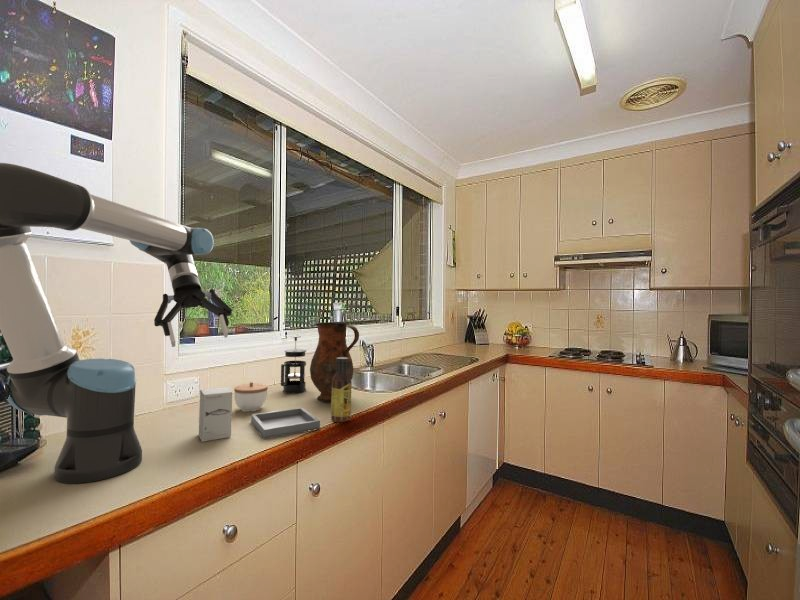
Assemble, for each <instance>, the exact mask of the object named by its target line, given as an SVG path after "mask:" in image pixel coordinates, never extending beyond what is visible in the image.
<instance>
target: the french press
mask: <svg viewBox="0 0 800 600" xmlns="http://www.w3.org/2000/svg"><path fill="white" fill-rule="evenodd" d="M301 337H302V336H300V335H292V336H290V338H293V339H294V348H290V349H285V350H284V352H285V357H288V358H294V360H286V361H284V362H283V363H282V364H281V365H280V387H283V389H282V392H283V393H285V392H286V394H301V393H304V391H305V392H306V391H307V389H306V384H307V383H306V382H307V381H305V376H306V374H305V372H306V371H305V367H306V366H307V361H306V360H305V361H304V360H297V358H300V357H301V358H302V357H305V356H306V352H307V349H300V348H297V341H298V339H299V338H301ZM291 368H299V373H296V370H294V372H293V373H291ZM291 379H293V380H291ZM294 379H295V380H294ZM296 379H299V380H296ZM300 392H301V393H300Z"/></svg>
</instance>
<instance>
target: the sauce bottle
mask: <svg viewBox="0 0 800 600" xmlns="http://www.w3.org/2000/svg"><path fill="white" fill-rule="evenodd" d="M336 363H337V369H336V371H337V372H336V374H335V375H334V377H333V380H332V398H331V403H330V415H331V416H330V417H331V421H332V422H334V423H345V422H348V421H350V419H351V415H352V388H353V387H352V380H351V379H350V376H349V373H348V363H349V358H347V357H339V358H336Z"/></svg>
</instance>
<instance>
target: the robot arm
mask: <svg viewBox="0 0 800 600" xmlns="http://www.w3.org/2000/svg"><path fill="white" fill-rule="evenodd" d="M31 227H41V228H54V229H61V230H64V231H69V232H70V231H71V232H72V231H73V232H74V231H77V230H79V229H81V230H85V231H90V232H94V233H99V234H103V235H106V236H111V237H115V238H119V239H123V240H128V241H129V243H130V244H131V245H132V246H134V247H136V248H137V249H139V250H140V251H141V252H144V253H145V254H148V255H149V256H151V257H153V258H155V259H157V260H158V261H160V262H162V263H164V264H165V265H166V267H167V270H168V274H169V279H170V283H171V287H172V288H171V289H172V291H173V295H169V294H167V293H163V294H162V302H161V304H160V307H159V309H158V310H157V313H156V315H155V317H154V320H153V321H154V323H153V325H154V326H155V327H162V329H163V334H164V336H165V337H169V340H170V344H171V347H176V338H175V335H174V330H173V325H172V321H173V319H174V318H176V316H177V315H178V313H179V312H181V310H183V308H185V309H190V308H198V307H201V308H203V309H206V310H207V311H210V312H211V313H212V314H214V315H216V316H218V317H219V319H218V321H219V324H220V326H221V330H222V331H221V332H222V333H223V337H224V339H225V338H228V336H229V330H228V327H229V323H230V322H229V318H228V317H231V316H232V312H233V310H232V308H231V307H230V305H228V304H227V303H226V302H225V301H224V300H222V298H221V297H219V296H218V295H217V294H216V291H215V289H213V288H210V289H209V290H208V291H203V289H202V285H201V282H200V279H199V274H198V272H197V269H196V265H195V262H194V261H195V260H194V257H193V256H195V255H196V256H200V255H208V254H209V253H211V251H213V248H214V243H215V242H214V237H213V234H212V233H211V231H210V230H209V229H207V228H204V227H197V226H196V227H189V226H186V225H183V224H180V223H177V222H174V221H172V220H171V221H170V220H168V219H164V218H161V217H158V216H156V215H153V214H150V213H147V212H144V211H142V210H138V209H135V208H132V207H129V206H126V205H123V204H120V203H117V202H114V201H112V200H110V199H109V200H108V199H106V198H102V197H100V196H97V195H94V194H91V193H90V192H89V190H88V189H87V188H86V187H85V186H82V185H81V184H80V185H79V184H77V183H74V182H72V181H68V180H66V179H62V178H60V177H57V176H54V175H52V174H49V173H46V172H42V171H39V170H36V169H32V168H29V167H28V166H27V167H26V166H22V165H18V164H15V163H14V164H13V163H7V162H0V332H1V335H2V337H3V338H4V341H5V343H6V346H7V349H8V351H9V353H10V354H11V355H10V356H11V357H12V360H11V362H10V363H9V364H8V366H7V367H6V371H7V373H8V377H7V382H6V383H7V384H8V385H9V387H10V395H9V397H8V399H6V401H7V402H8V404H9V405H10V406H12V407H13V408H14V409H16V410H18V411H21V412H24V413H27V414H29V415H35V416H48V417H59V418H65V419H66V438H65V441H64V443H63V445H62V448H61V450H60V453H59V455H58V457H57V460H56V463H55V465H54V470H53V472H54V474H53V478H54V480H55V481H57V482H59V483H64V484H82V483H90V482H91V483H92V482H96V481H101V480H105V479H106V480H107V479H110V478H114V477H117V476H120V475H123V474H125V473H127V472H130V471H131V470H133V469H135V468H136V467H137V466H139V465H140V464H141V463H142V461H143V449H142V445H141V443H140V441H139V439H138V435H137V433H136V430H135V427H134V426H135V424H134V423H135V421H134V420H135V402H136V401H135V400H136V386H137V385H136V384H137V379H136V369H135V367H134V366H133V365H132V364H131V363H129V362H127V361H124V360H122V359H114V358H87V359H80V358H79V355H78V352H77V350H76V348H74V347H71V346H68V345H66V344H65V342H64V340H63V337H62V334H61V331H60V329H59V327H58V324H57V321H56V319H55V316H54V314H53V311H52V309H51V306H50V303H49V300H48V297H47V295H46V293H45V290H44V287H43V285H42V283H41V280H40V277H39V274H38V272H37V270H36V269H37V268H36V266H35V264H34V261H33V259H32V256H31V253H30V251H29V249H28V245H27V240H28V239H29V237H30V236H32V234H33V232H32V230H31ZM206 297H207V298H208V299H210V300H211V301H212V302H213V303H212V302H211V301H209V300H208V299H207V298H206ZM172 301H174V302H176V303H175V305H174V306H173V307H172V308H171V310H170V311H169V312H168V313H167V314H166V316H165V313H166V311H167V309H168V306H169V304H170V303H171V302H172ZM164 316H165V317H164Z"/></svg>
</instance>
